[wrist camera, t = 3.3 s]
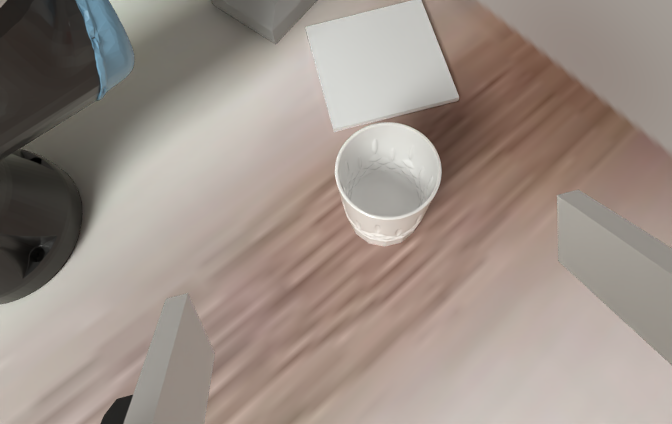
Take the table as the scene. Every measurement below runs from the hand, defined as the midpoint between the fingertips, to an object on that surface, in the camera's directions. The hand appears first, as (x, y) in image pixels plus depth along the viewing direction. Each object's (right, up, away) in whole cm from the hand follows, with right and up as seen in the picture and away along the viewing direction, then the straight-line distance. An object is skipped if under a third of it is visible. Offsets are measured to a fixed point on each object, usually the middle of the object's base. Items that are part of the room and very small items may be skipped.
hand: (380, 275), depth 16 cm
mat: (+3, +18, +33) cm, 38 cm away
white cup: (+3, +2, +28) cm, 28 cm away
